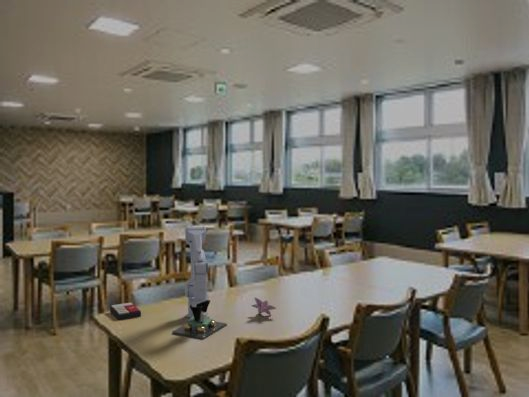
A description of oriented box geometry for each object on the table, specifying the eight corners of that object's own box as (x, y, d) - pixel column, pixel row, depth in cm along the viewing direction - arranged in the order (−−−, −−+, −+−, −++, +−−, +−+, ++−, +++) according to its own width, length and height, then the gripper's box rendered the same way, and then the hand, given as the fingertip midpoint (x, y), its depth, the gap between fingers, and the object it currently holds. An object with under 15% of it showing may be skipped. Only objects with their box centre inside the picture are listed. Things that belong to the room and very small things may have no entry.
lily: (278, 321, 219) (280, 301, 223) (260, 315, 212) (263, 295, 217) (261, 323, 227) (263, 304, 232) (244, 318, 220) (246, 298, 225)
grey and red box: (118, 313, 214) (109, 304, 227) (118, 322, 215) (109, 312, 227) (141, 310, 221) (131, 301, 233) (141, 318, 221) (131, 309, 233)
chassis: (197, 320, 215) (197, 312, 215) (226, 325, 209) (226, 317, 209) (172, 333, 197) (172, 324, 197) (203, 339, 191) (203, 330, 190)
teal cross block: (195, 315, 209) (196, 306, 209) (213, 319, 207) (214, 310, 207) (185, 323, 199) (186, 314, 198) (204, 328, 197) (205, 318, 196)
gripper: (198, 284, 210) (198, 313, 211) (185, 291, 196) (185, 322, 197) (212, 285, 208) (212, 314, 209) (200, 293, 194) (200, 324, 195)
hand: (200, 318), depth 203 cm, fingers open, 6 cm apart
